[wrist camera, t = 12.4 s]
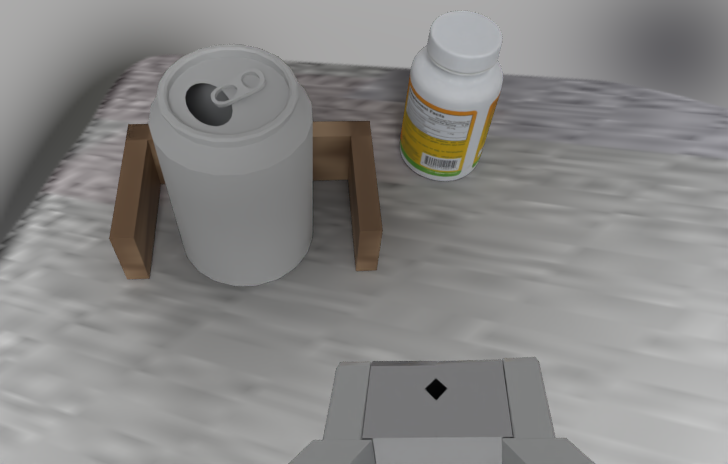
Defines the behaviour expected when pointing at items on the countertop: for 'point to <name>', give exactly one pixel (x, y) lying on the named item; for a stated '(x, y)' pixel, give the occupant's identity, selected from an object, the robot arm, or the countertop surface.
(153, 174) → the corral
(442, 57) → the supplement bottle
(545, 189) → the countertop surface
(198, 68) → the can
